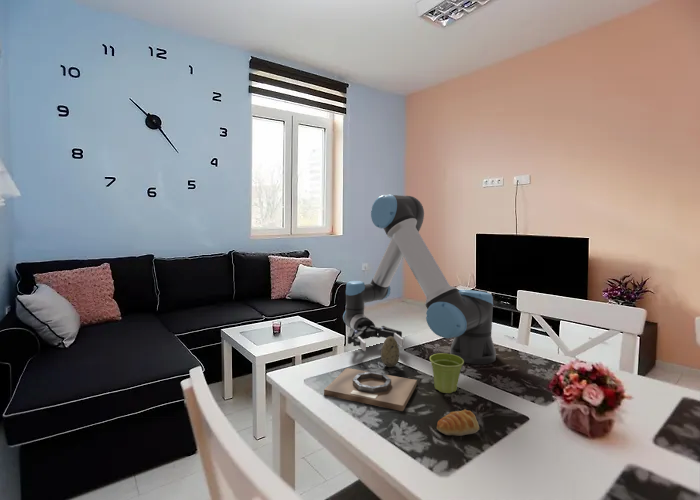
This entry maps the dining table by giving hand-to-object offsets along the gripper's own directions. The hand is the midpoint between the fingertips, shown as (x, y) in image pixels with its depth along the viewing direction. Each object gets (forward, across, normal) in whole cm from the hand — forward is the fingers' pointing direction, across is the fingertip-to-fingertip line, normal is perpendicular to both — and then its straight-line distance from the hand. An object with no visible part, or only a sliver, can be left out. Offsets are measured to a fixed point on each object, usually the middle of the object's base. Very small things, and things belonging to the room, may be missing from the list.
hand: (384, 344), depth 128 cm
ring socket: (+18, +11, -4) cm, 21 cm away
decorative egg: (+4, 0, -6) cm, 7 cm away
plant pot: (+23, -9, -6) cm, 26 cm away
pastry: (+42, -1, -6) cm, 42 cm away
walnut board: (+18, +11, -6) cm, 22 cm away
